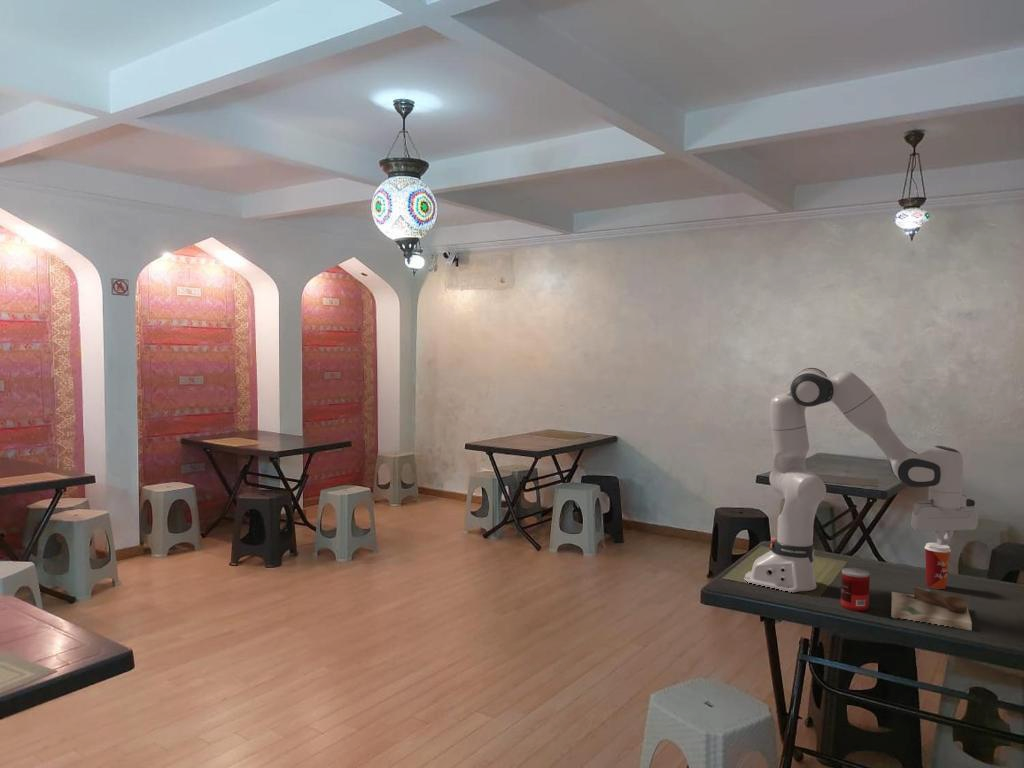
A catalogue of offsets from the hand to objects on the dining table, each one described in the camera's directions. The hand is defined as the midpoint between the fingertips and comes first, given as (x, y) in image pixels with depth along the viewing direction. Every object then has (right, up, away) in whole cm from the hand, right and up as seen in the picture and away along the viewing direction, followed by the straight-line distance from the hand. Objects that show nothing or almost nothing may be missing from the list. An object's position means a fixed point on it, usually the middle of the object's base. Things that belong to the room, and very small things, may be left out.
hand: (943, 544), depth 225 cm
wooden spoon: (-4, -17, -5) cm, 18 cm away
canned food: (-27, -19, -1) cm, 33 cm away
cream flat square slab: (-7, -19, -6) cm, 21 cm away
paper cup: (+9, -18, +19) cm, 27 cm away
